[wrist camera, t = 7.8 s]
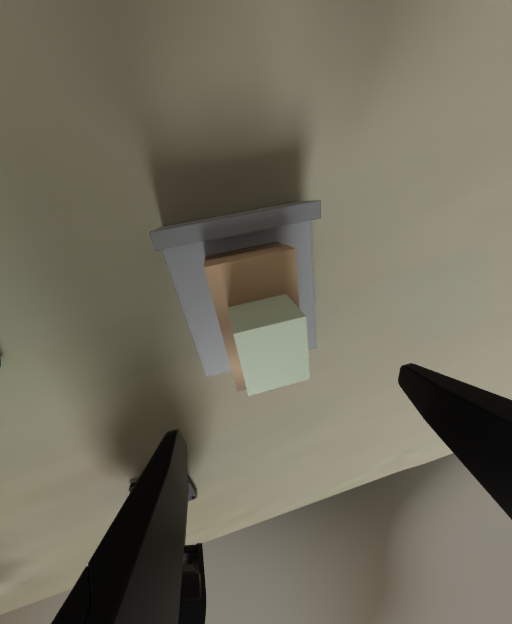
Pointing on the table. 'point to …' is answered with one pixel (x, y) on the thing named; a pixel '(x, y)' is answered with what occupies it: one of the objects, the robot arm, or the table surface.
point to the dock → (226, 237)
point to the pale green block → (270, 343)
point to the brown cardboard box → (249, 286)
